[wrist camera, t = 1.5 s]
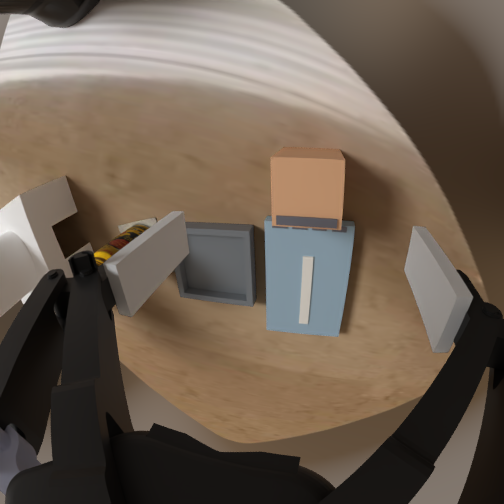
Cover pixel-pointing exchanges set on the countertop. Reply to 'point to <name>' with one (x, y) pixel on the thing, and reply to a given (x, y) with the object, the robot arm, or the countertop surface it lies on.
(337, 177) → the stub
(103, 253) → the condiment
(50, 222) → the paper towel holder
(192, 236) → the tray
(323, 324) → the board
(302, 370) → the countertop surface
